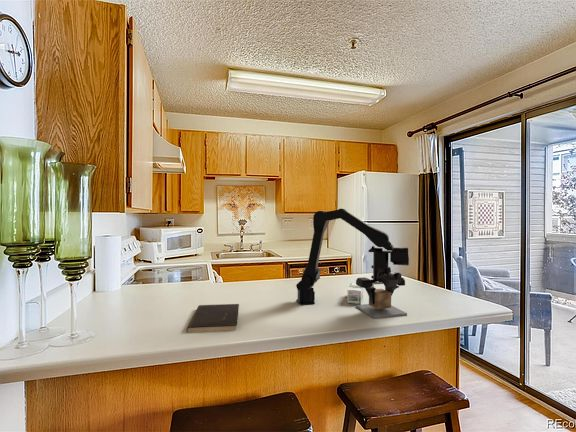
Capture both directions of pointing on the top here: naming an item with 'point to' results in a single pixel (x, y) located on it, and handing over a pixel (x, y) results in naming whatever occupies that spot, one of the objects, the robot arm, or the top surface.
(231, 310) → the hardcover book
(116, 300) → the top surface
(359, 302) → the syrup box
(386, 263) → the robot arm
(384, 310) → the trivet
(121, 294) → the top surface
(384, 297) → the walnut cube
